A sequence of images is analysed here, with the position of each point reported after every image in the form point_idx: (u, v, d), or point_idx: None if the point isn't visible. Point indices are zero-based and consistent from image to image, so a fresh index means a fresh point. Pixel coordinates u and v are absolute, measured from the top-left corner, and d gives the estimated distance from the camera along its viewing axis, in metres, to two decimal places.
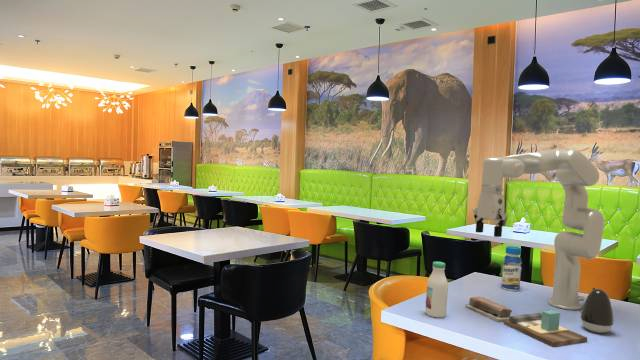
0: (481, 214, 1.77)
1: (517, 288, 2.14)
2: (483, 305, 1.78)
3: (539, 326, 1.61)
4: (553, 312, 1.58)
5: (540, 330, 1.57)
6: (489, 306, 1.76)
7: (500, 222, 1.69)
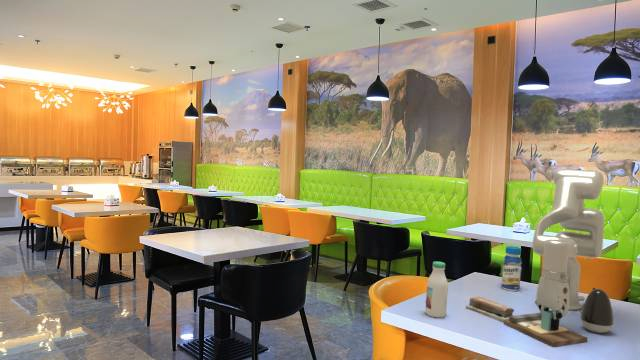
0: (542, 301, 1.59)
1: (517, 288, 2.14)
2: (485, 305, 1.78)
3: (539, 326, 1.61)
4: None
5: (540, 330, 1.57)
6: (492, 306, 1.76)
7: (558, 315, 1.55)
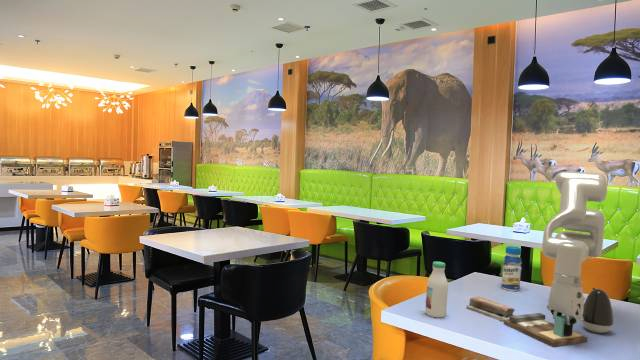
0: (555, 306, 1.55)
1: (517, 288, 2.14)
2: (486, 305, 1.78)
3: (552, 331, 1.56)
4: None
5: (553, 336, 1.52)
6: (493, 306, 1.76)
7: (571, 320, 1.50)
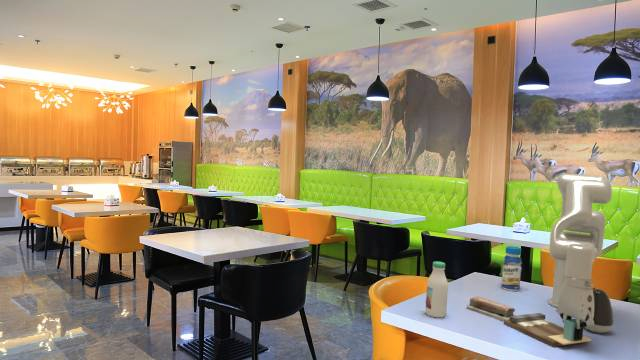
0: (564, 310, 1.51)
1: (517, 288, 2.14)
2: (486, 305, 1.78)
3: (561, 335, 1.53)
4: None
5: (563, 340, 1.49)
6: (494, 306, 1.76)
7: (582, 324, 1.47)
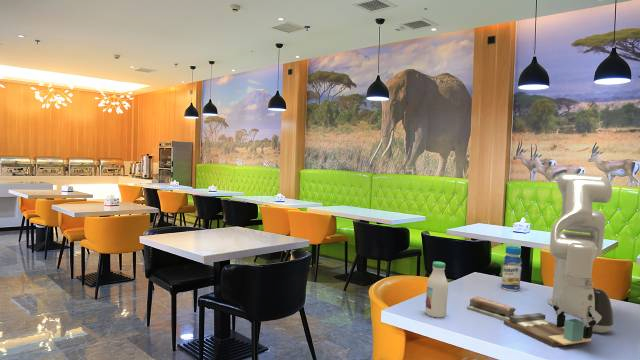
0: (565, 308, 1.51)
1: (517, 288, 2.14)
2: (487, 306, 1.78)
3: (561, 336, 1.53)
4: (576, 321, 1.50)
5: (563, 340, 1.49)
6: (495, 306, 1.76)
7: (591, 323, 1.44)
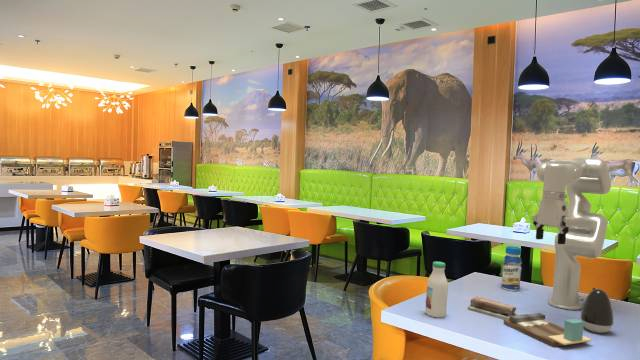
0: (542, 221, 1.73)
1: (517, 288, 2.14)
2: (489, 306, 1.78)
3: (561, 336, 1.53)
4: (576, 321, 1.50)
5: (563, 340, 1.49)
6: (497, 306, 1.76)
7: (565, 229, 1.66)
